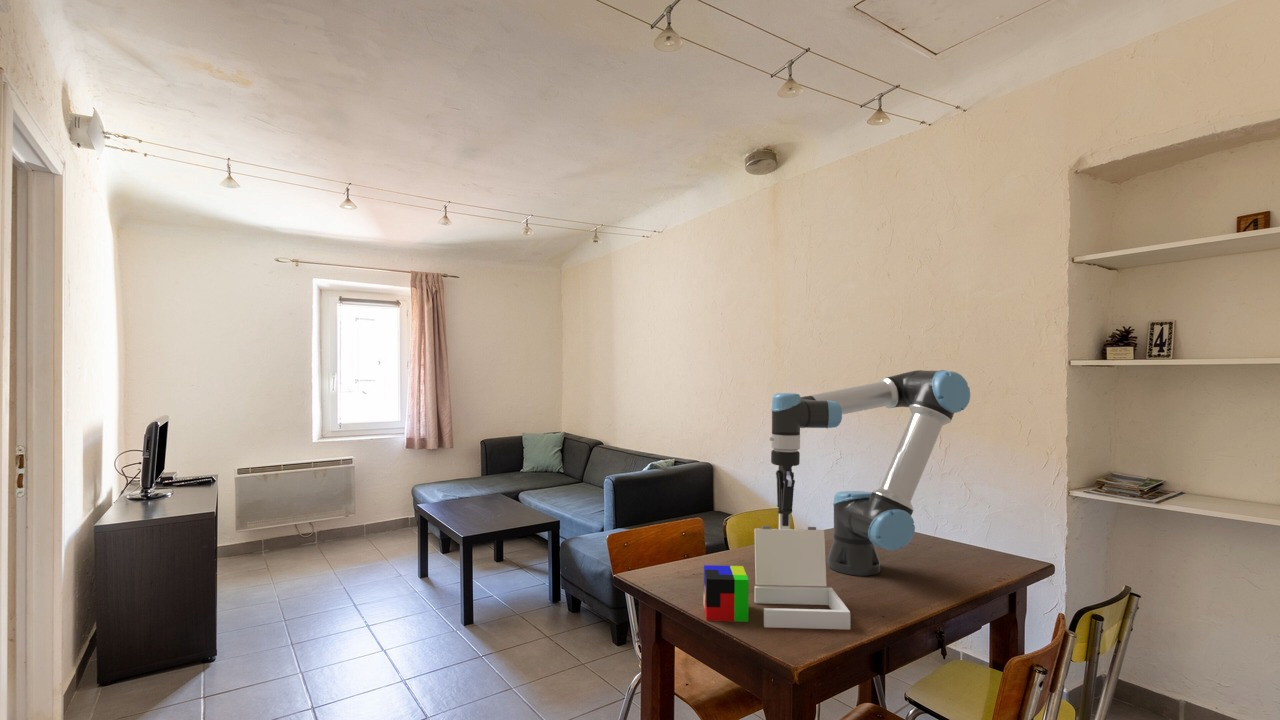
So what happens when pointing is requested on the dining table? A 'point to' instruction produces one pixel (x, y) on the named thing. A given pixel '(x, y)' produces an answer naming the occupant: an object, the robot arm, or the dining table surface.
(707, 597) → the puzzle toy
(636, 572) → the dining table surface
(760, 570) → the cover
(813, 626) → the white hinged box
